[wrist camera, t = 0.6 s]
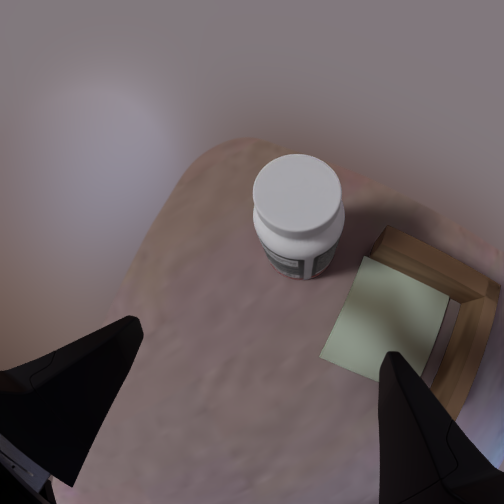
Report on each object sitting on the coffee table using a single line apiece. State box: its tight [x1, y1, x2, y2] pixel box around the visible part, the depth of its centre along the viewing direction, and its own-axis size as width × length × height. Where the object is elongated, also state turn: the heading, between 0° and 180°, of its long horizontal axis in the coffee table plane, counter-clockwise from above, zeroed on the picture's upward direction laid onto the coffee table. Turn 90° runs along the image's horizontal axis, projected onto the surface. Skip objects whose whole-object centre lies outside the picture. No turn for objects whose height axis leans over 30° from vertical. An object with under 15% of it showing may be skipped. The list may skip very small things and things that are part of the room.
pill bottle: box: [253, 154, 345, 280], centre depth 18 cm, size 6×6×10 cm
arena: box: [319, 225, 501, 421], centre depth 18 cm, size 12×12×4 cm
